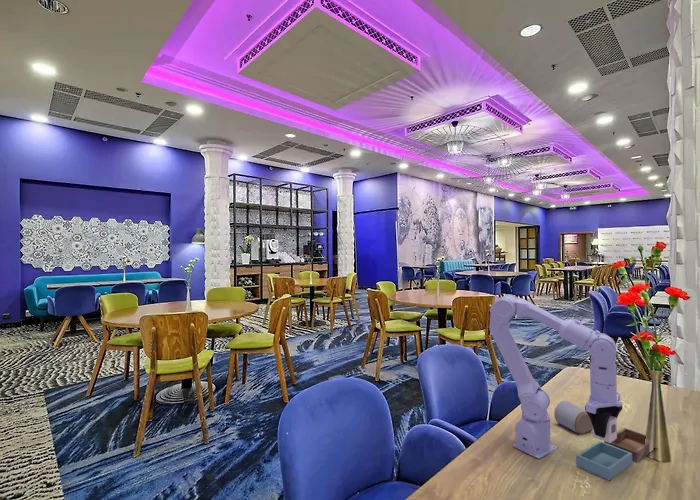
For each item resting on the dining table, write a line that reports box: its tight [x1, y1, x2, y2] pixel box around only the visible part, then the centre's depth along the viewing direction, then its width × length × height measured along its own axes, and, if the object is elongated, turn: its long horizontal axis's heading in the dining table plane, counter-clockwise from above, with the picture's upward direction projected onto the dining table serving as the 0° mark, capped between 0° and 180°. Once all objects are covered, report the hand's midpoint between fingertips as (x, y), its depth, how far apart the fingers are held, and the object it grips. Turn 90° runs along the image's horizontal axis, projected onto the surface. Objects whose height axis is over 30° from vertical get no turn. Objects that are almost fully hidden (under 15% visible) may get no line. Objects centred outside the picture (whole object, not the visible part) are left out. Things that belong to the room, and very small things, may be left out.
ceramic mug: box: [553, 400, 593, 435], centre depth 117 cm, size 11×8×8 cm
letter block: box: [592, 416, 618, 443], centre depth 97 cm, size 4×4×6 cm
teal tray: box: [575, 440, 633, 482], centre depth 97 cm, size 13×8×3 cm, turn 122°
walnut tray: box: [603, 427, 650, 463], centre depth 104 cm, size 13×8×3 cm, turn 122°
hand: (604, 433), depth 97 cm, fingers closed on letter block, 4 cm apart
